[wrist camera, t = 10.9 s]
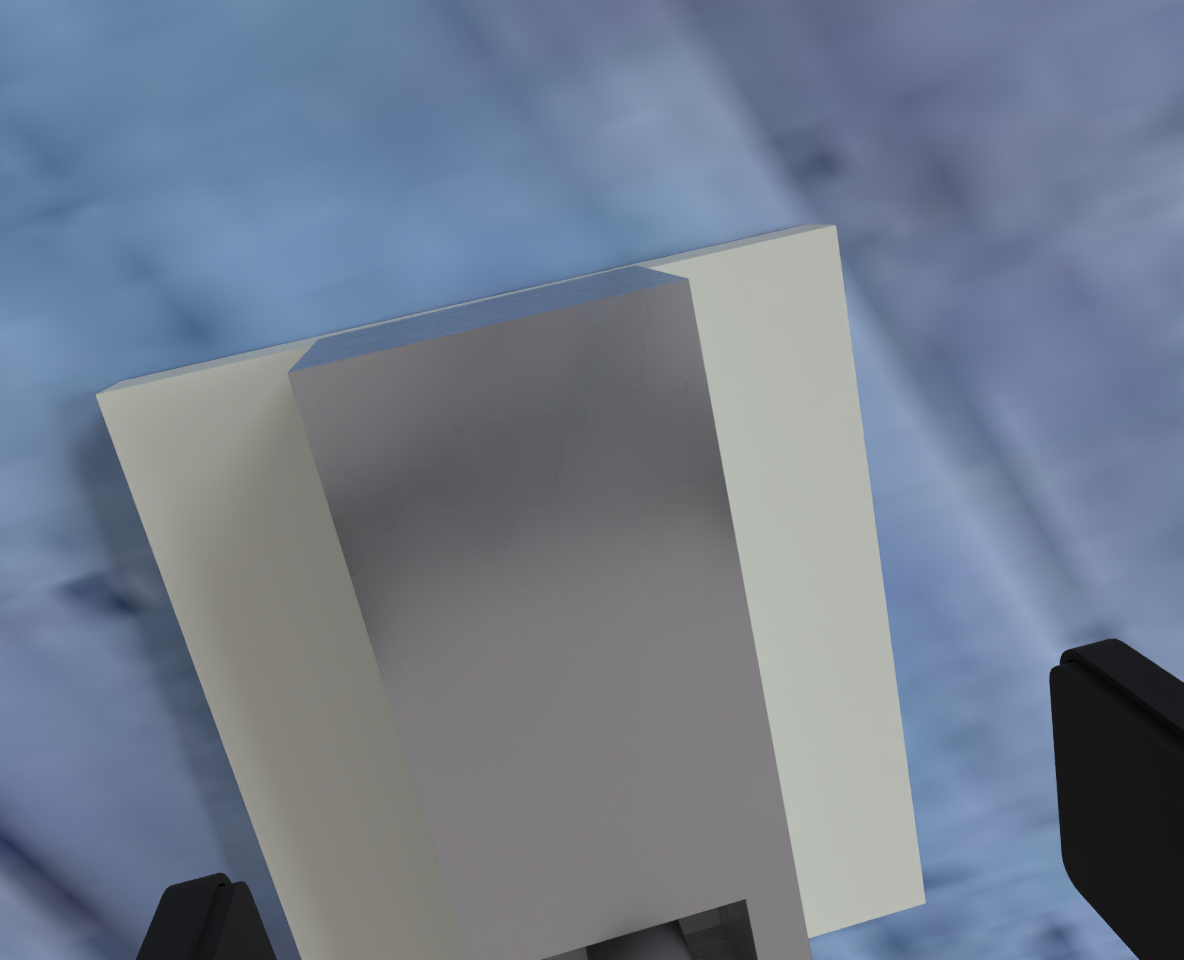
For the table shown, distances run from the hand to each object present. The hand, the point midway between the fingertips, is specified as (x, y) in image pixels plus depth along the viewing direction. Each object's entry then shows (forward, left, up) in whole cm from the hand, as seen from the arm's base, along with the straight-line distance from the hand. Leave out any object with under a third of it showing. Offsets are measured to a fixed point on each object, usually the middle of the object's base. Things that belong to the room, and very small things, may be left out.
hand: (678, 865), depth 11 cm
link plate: (+2, 0, -9) cm, 10 cm away
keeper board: (+2, -1, -11) cm, 11 cm away
